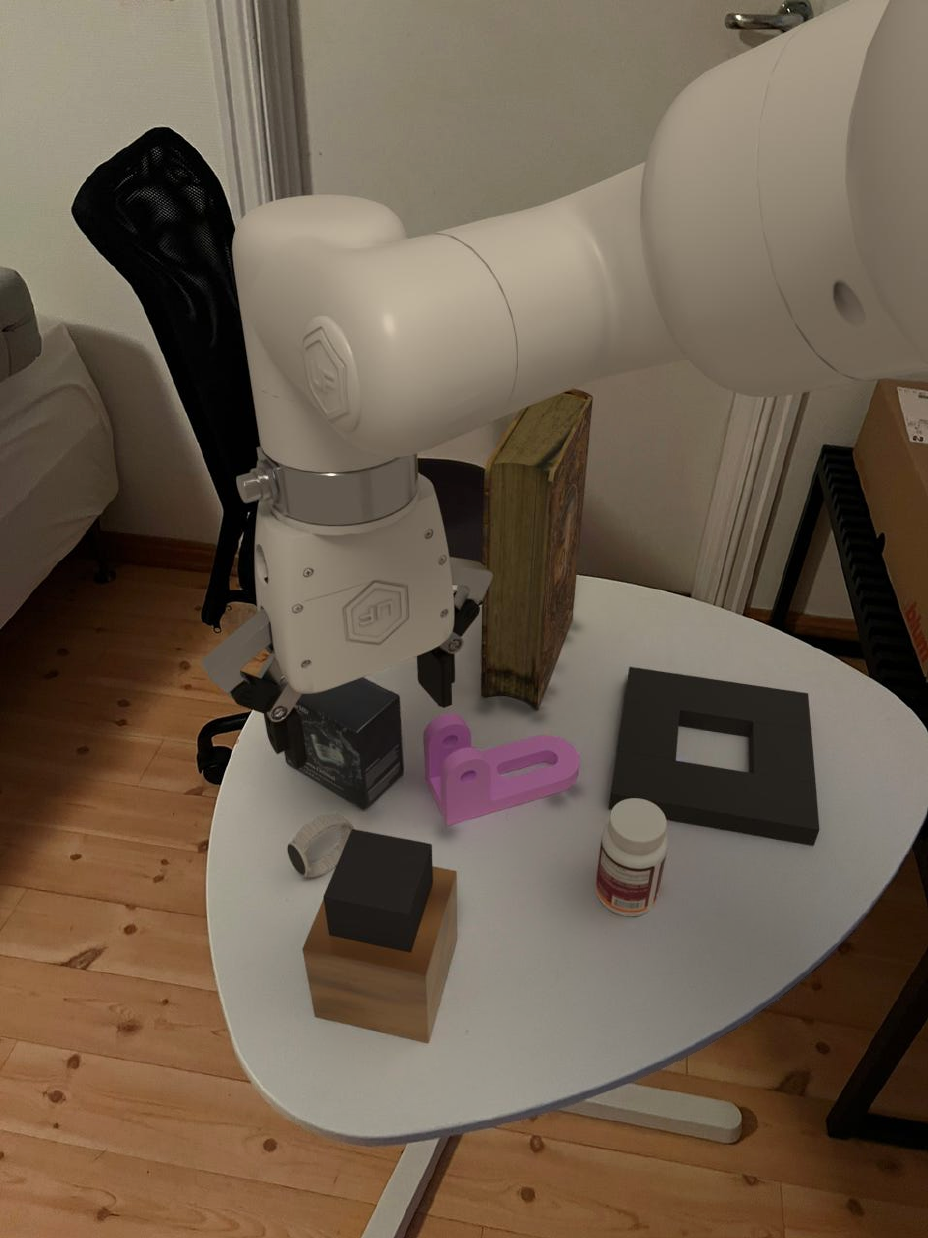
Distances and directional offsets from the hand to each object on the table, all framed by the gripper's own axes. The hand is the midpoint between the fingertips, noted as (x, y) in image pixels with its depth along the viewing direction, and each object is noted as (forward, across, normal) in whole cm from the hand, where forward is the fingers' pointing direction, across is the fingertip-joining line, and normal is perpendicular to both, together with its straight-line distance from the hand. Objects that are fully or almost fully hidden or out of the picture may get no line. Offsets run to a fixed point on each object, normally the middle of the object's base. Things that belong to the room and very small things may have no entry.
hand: (365, 722), depth 57 cm
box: (+20, +4, +15) cm, 26 cm away
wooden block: (+20, -2, -4) cm, 21 cm away
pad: (+12, -2, -4) cm, 13 cm away
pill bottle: (+21, +17, -7) cm, 28 cm away
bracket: (+20, +16, +7) cm, 27 cm away
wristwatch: (+20, -2, +7) cm, 22 cm away
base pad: (+20, +32, 0) cm, 38 cm away
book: (+20, +27, +20) cm, 39 cm away
